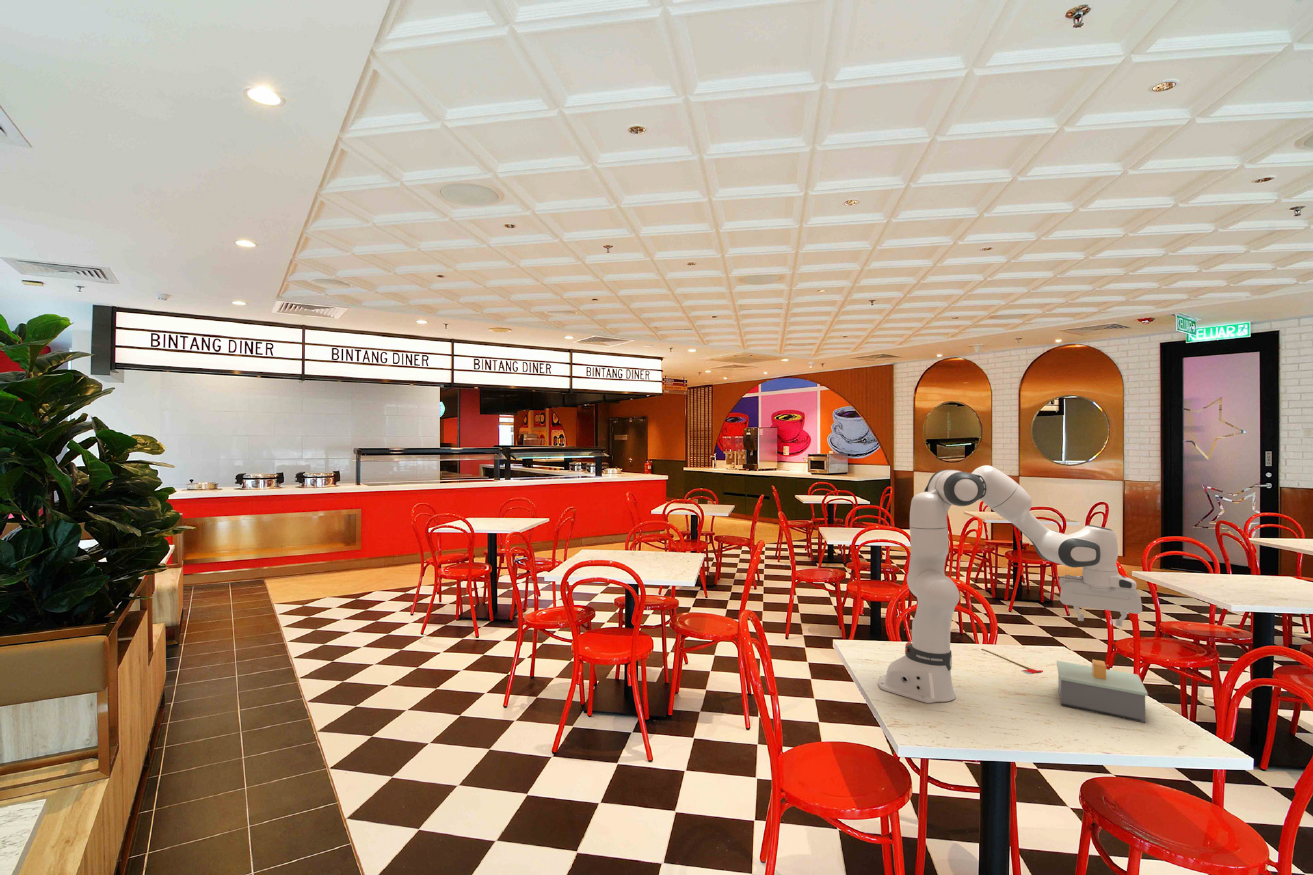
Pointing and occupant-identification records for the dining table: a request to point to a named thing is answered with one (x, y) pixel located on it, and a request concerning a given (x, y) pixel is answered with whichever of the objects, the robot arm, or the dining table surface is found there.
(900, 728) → the dining table surface
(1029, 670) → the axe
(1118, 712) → the tub
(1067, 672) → the lid
